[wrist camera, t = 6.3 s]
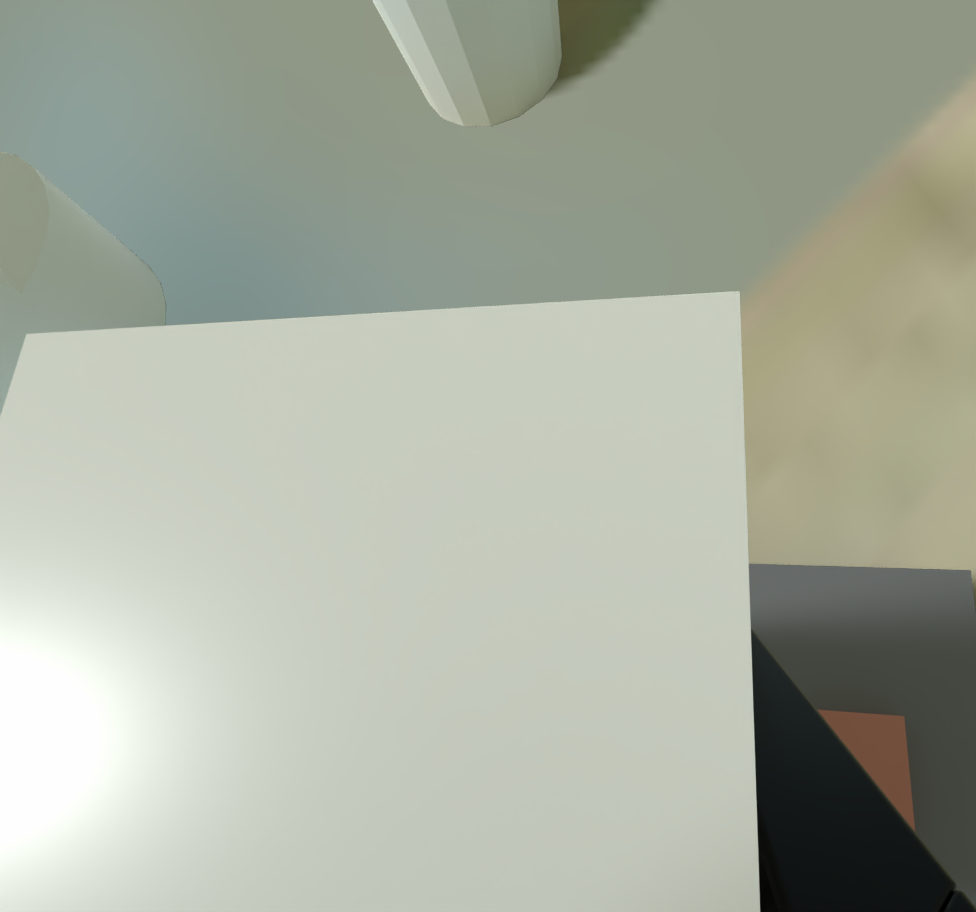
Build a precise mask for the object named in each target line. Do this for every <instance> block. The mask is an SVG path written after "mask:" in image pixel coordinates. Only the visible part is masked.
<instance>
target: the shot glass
mask: <svg viewBox="0 0 976 912" xmlns="http://www.w3.org/2000/svg"><path fill="white" fill-rule="evenodd" d="M372 1H373V3H374V5H375V6H376V8H377V10H378V12H379V14H380V15H381V17H382V19H383V21H384V23H385V24H386V26H387V28H388V30H389V32H390V34H391V35H392V37H393V39H394V41H395V43H396V44H397V46H398V48H399V50H400V52H401V53H402V55H403V57H404V59H405V61H406V63H407V64H408V66H409V68H410V70H411V72H412V73H413V75H414V77H415V79H416V81H417V82H418V84H419V86H420V88H421V90H422V91H423V93H424V95H425V97H426V98H427V100H428V102H429V104H430V105H431V106H432V107H433V108H434V109H435V111H437V113H438V114H439V115H440V116H441V117H442V118H443V119H445V120H448V121H451V122H453V123H456V124H459V125H461V126H464V127H477V126H493V125H496V124H499V123H502V122H505V121H508V120H511V119H513V118H516V117H519V116H520V115H522V114H523V113H525V112H526V111H527V110H529V109H530V108H531V107H533V106H534V105H536V104H537V103H539V102H540V101H541V100H542V99H543V98H544V96H545V95H546V94H547V92H548V91H549V89H550V88H551V87H552V85H553V84H554V82H555V81H556V80H557V77H558V72H559V68H560V63H561V59H562V51H561V38H560V25H559V12H558V0H372Z"/></svg>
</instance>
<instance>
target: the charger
mask: <svg viewBox="0 0 976 912" xmlns="http://www.w3.org/2000/svg"><path fill="white" fill-rule="evenodd" d="M0 912H760V891H759V861H758V831H757V801H756V771H755V741H754V711H753V681H752V651H751V621H750V591H749V561H748V531H747V502H746V472H745V442H744V412H743V382H742V352H741V322H740V292H739V291H734V292H718V293H701V294H684V295H668V296H651V297H635V298H618V299H603V300H602V299H601V300H585V301H568V302H551V303H534V304H517V305H501V306H484V307H467V308H452V309H436V310H435V309H434V310H417V311H402V312H385V313H369V314H368V313H367V314H352V315H351V314H350V315H334V316H318V317H301V318H285V319H268V320H251V321H234V322H217V323H201V324H184V325H167V326H150V327H134V328H117V329H100V330H84V331H67V332H50V333H33V334H26V337H25V340H24V343H23V346H22V349H21V353H20V356H19V359H18V362H17V365H16V368H15V371H14V375H13V378H12V381H11V384H10V387H9V390H8V394H7V397H6V400H5V403H4V406H3V409H2V413H1V416H0Z"/></svg>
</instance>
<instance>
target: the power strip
mask: <svg viewBox="0 0 976 912" xmlns="http://www.w3.org/2000/svg"><path fill="white" fill-rule="evenodd" d="M749 591H750V621H751V628H752V629H753V630H754V632H755V633H756V634H757V635H758V637H759V638H760V639H761V640H762V642H763V643H764V644H765V645H766V647H767V648H768V649H769V650H770V652H771V653H772V654H773V655H774V657H775V658H776V659H777V660H778V662H779V663H780V664H781V665H782V667H783V668H784V669H785V670H786V672H787V673H788V674H789V675H790V677H791V678H792V679H793V680H794V682H795V683H796V684H797V685H798V687H799V688H800V689H801V690H802V692H803V693H804V694H805V695H806V697H807V698H808V699H809V700H810V702H811V703H812V704H813V705H814V707H815V708H816V709H817V710H818V711H819V713H820V714H821V715H822V716H823V718H824V719H825V720H826V721H827V723H828V724H829V725H830V726H831V728H832V729H833V730H834V731H835V733H836V734H837V735H838V736H839V738H840V739H841V740H842V741H843V743H844V744H845V745H846V746H847V748H848V749H849V750H850V751H851V753H852V754H853V755H854V756H855V758H856V759H857V760H858V761H859V763H860V764H861V765H862V766H863V768H864V769H865V770H866V771H867V773H868V774H869V775H870V776H871V778H872V779H873V780H874V781H875V783H876V784H877V785H878V786H879V787H880V789H881V790H882V791H883V792H884V794H885V795H886V796H887V797H888V799H889V800H890V801H891V802H892V804H893V805H894V806H895V807H896V809H897V810H898V811H899V812H900V814H901V815H902V816H903V817H904V819H905V820H906V821H907V822H908V824H909V825H910V826H911V827H912V829H913V830H914V831H915V832H916V834H917V835H918V836H919V837H920V839H921V840H922V841H923V842H924V844H925V845H926V846H927V847H928V849H929V850H930V851H931V852H932V854H933V855H934V856H935V857H936V859H937V860H938V861H939V862H940V864H941V865H942V866H943V867H944V868H945V870H946V871H947V872H948V873H949V875H950V876H951V877H952V878H953V880H954V881H955V883H956V886H957V887H956V890H960V891H963V892H964V893H965V894H966V895H967V897H968V898H969V899H970V900H971V902H972V903H973V904H974V905H975V907H976V609H975V602H974V594H973V586H972V578H971V571H970V570H941V569H907V568H873V567H839V566H805V565H770V564H749Z"/></svg>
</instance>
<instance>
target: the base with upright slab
mask: <svg viewBox="0 0 976 912" xmlns="http://www.w3.org/2000/svg"><path fill="white" fill-rule="evenodd" d="M165 320H166V303H165V299H164V295H163V291H162V287H161V283H160V282H159V280H158V279H157V277H156V276H155V274H154V273H153V271H152V270H151V268H150V267H149V266H148V265H147V264H146V263H145V262H144V261H142V260H141V259H140V258H139V257H138V256H137V255H135V254H134V253H133V252H132V251H131V250H129V249H128V248H127V247H126V246H125V245H124V244H122V243H121V242H120V241H119V240H118V239H117V238H115V237H114V236H113V235H112V234H111V233H110V232H108V231H107V230H106V229H105V228H104V227H103V226H101V225H100V224H99V223H98V222H97V221H95V220H94V219H93V218H92V217H91V216H90V215H89V214H87V213H86V212H85V211H84V210H83V209H82V208H80V207H79V206H78V205H77V204H76V203H75V202H73V201H72V200H71V199H70V198H69V197H68V196H66V195H65V194H64V193H63V192H62V191H61V190H59V189H58V188H57V187H56V186H55V185H54V184H52V183H51V182H50V181H49V180H48V179H47V178H45V177H44V176H43V175H42V174H41V173H39V172H38V171H37V170H36V169H35V168H33V167H32V166H31V165H29V164H28V163H27V162H25V161H24V160H22V159H21V158H19V157H18V156H16V155H13V154H9V153H4V152H0V416H1V413H2V409H3V406H4V403H5V400H6V397H7V394H8V390H9V387H10V384H11V381H12V378H13V375H14V371H15V368H16V365H17V362H18V359H19V356H20V353H21V349H22V346H23V343H24V340H25V337H26V334H33V333H50V332H67V331H84V330H100V329H117V328H134V327H150V326H165Z"/></svg>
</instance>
